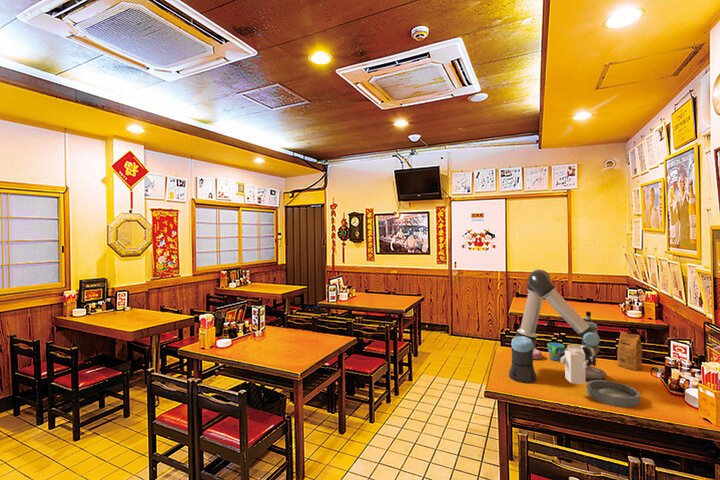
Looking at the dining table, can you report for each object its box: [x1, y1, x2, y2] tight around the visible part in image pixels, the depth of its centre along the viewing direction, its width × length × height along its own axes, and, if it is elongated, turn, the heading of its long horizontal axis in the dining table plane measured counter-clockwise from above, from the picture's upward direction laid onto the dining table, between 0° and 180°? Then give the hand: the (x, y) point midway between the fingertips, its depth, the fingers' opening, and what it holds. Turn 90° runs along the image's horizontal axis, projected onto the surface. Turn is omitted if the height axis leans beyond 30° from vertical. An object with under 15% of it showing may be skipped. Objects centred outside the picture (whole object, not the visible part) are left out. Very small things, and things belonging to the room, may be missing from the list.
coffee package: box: [616, 331, 643, 371], centre depth 228 cm, size 10×12×22 cm
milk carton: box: [564, 344, 587, 385], centre depth 189 cm, size 7×7×19 cm
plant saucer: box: [585, 365, 607, 382], centre depth 215 cm, size 21×21×3 cm
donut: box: [533, 348, 543, 360], centre depth 250 cm, size 14×13×5 cm
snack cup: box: [547, 342, 566, 362], centre depth 244 cm, size 16×11×10 cm
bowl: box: [586, 379, 641, 408], centre depth 186 cm, size 22×22×4 cm
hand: (572, 363), depth 186 cm, fingers closed on milk carton, 10 cm apart
